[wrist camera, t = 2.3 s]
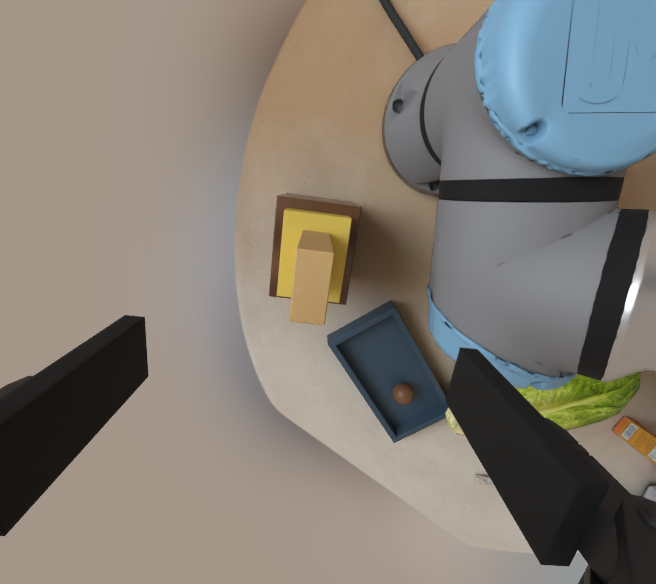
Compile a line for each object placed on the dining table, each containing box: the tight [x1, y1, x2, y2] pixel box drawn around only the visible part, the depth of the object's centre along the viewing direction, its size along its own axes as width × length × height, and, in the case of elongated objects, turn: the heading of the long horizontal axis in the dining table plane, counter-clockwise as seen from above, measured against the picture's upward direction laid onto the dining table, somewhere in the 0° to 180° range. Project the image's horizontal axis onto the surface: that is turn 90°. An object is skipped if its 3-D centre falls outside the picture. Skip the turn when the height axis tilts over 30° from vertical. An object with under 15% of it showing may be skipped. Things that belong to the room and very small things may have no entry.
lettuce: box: [445, 372, 640, 435], centre depth 44 cm, size 12×24×13 cm
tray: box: [327, 301, 448, 443], centre depth 46 cm, size 20×10×3 cm, turn 31°
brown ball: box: [393, 383, 414, 404], centre depth 47 cm, size 3×3×3 cm
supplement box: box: [612, 416, 656, 464], centre depth 47 cm, size 3×3×10 cm
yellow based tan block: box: [277, 208, 352, 325], centre depth 26 cm, size 8×6×12 cm
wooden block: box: [269, 193, 361, 305], centre depth 37 cm, size 10×8×10 cm
